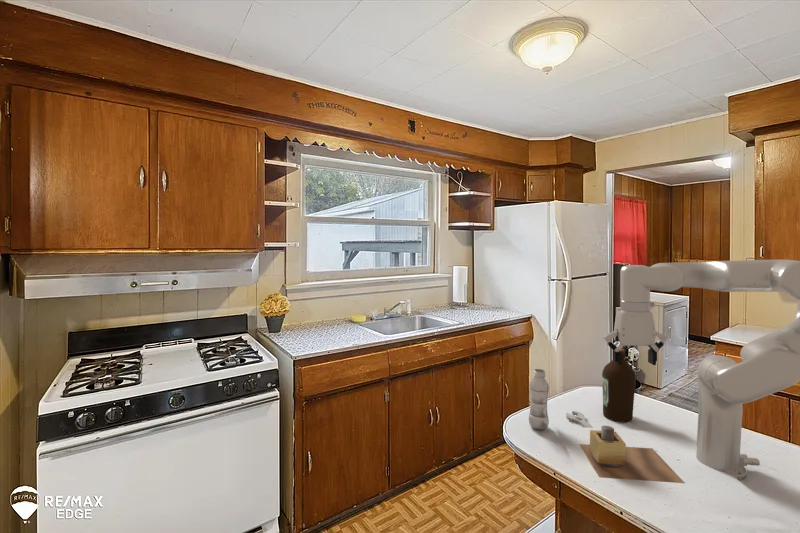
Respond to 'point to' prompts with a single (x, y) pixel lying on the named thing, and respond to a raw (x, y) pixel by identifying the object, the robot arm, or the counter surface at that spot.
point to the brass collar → (607, 449)
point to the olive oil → (618, 390)
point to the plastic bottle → (538, 401)
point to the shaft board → (633, 463)
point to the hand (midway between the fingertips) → (634, 363)
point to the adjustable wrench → (578, 419)
